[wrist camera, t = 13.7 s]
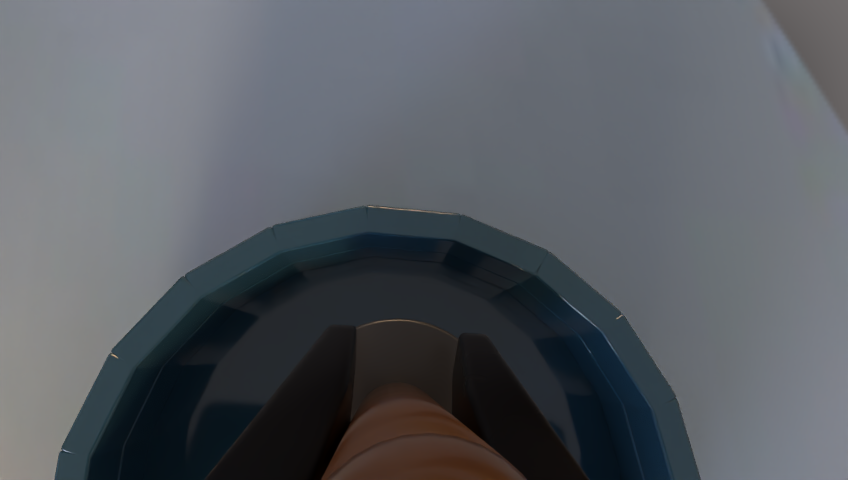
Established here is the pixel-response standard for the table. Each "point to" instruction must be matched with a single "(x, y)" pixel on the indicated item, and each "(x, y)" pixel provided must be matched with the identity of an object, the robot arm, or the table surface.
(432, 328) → the peg on round base
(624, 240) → the table surface
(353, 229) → the dish
